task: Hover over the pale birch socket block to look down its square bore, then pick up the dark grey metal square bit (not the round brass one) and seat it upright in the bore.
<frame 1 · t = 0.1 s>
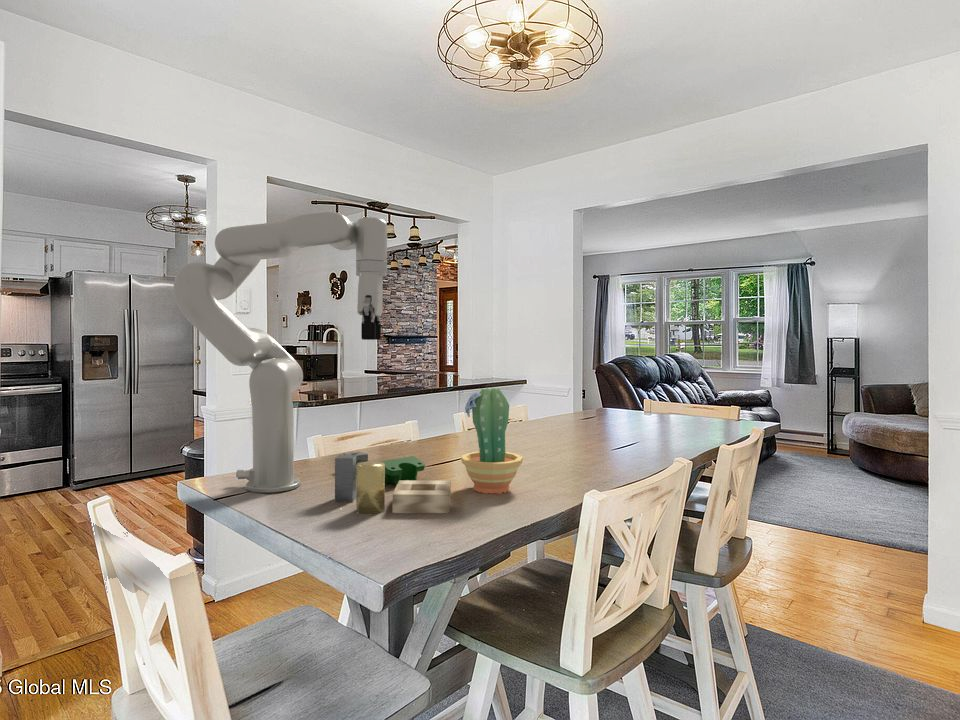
hand: (371, 339, 142), 37 cm above the table, tool pointing down, fingers open, 9 cm apart
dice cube: (355, 472, 160), on the table
round bit: (370, 510, 124), on the table
potted cactus: (491, 489, 143), on the table
socket block: (422, 504, 128), on the table
clamp: (401, 483, 148), on the table
square bit: (345, 499, 132), on the table
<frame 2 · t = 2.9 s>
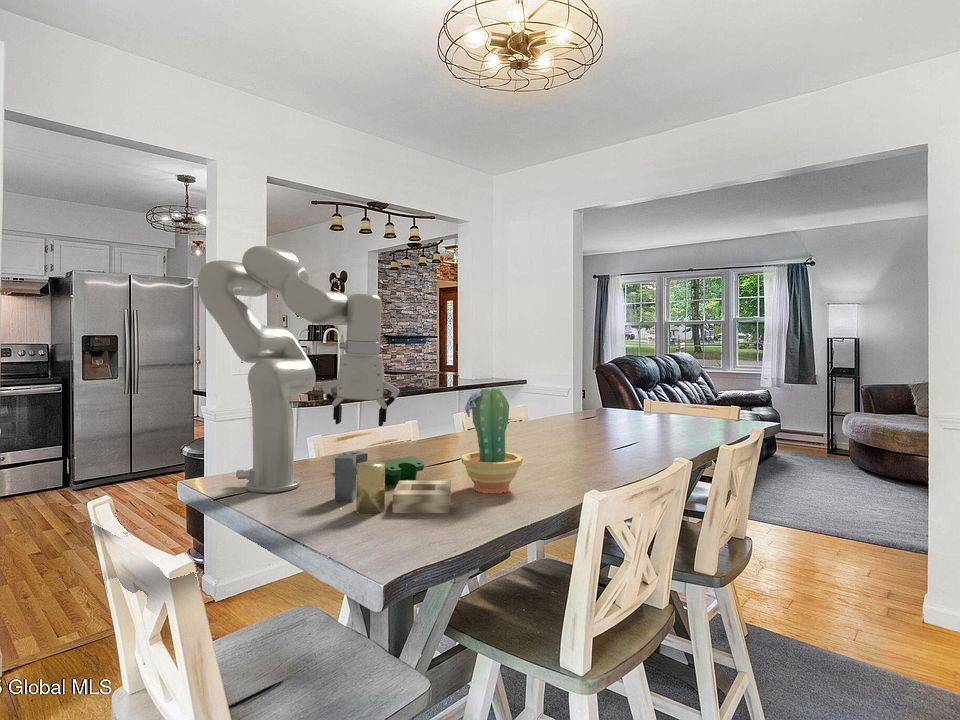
hand: (359, 424, 131), 17 cm above the table, tool pointing down, fingers open, 9 cm apart
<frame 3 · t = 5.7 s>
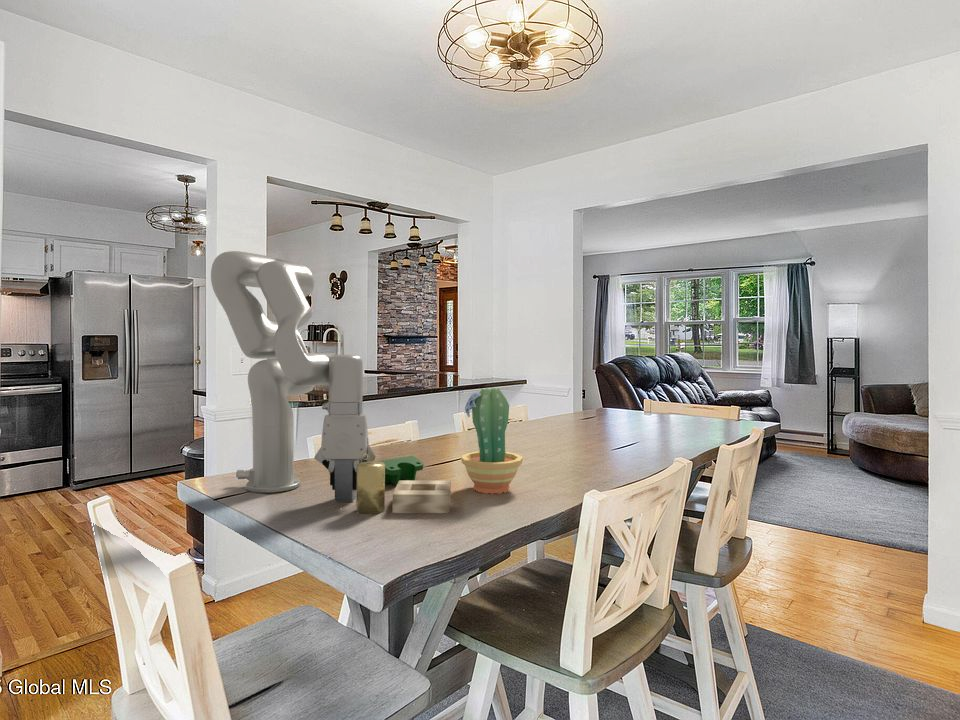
hand: (345, 487, 132), 3 cm above the table, tool pointing down, fingers closed on square bit, 4 cm apart
square bit: (345, 499, 132), on the table, touching gripper
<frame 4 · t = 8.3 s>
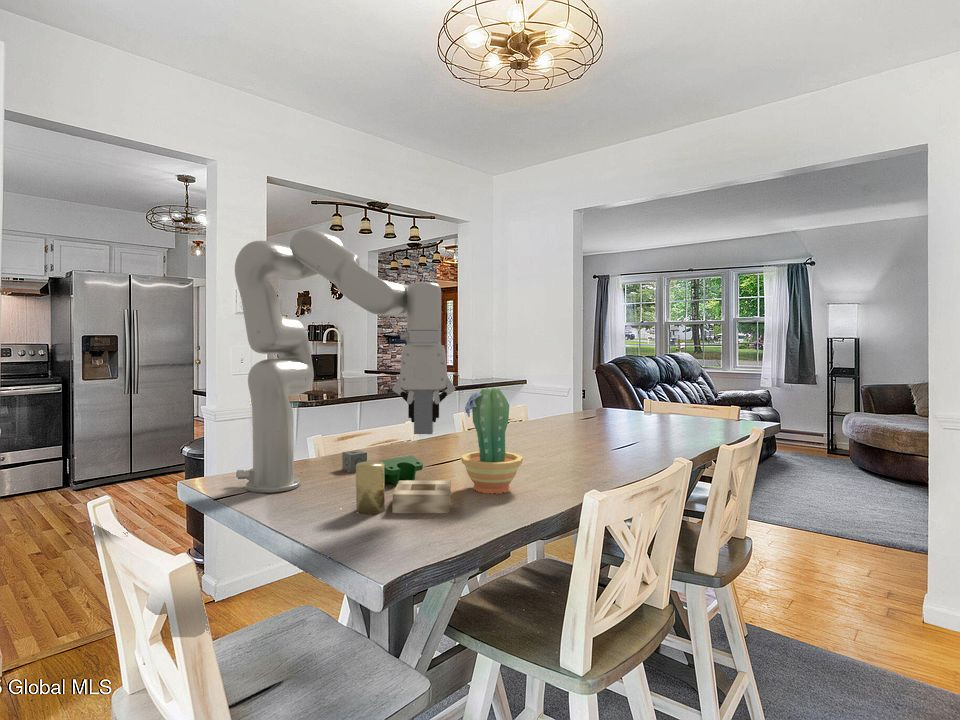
hand: (423, 420, 128), 19 cm above the table, tool pointing down, fingers closed on square bit, 4 cm apart
square bit: (423, 432, 128), point 16 cm above the table, touching gripper
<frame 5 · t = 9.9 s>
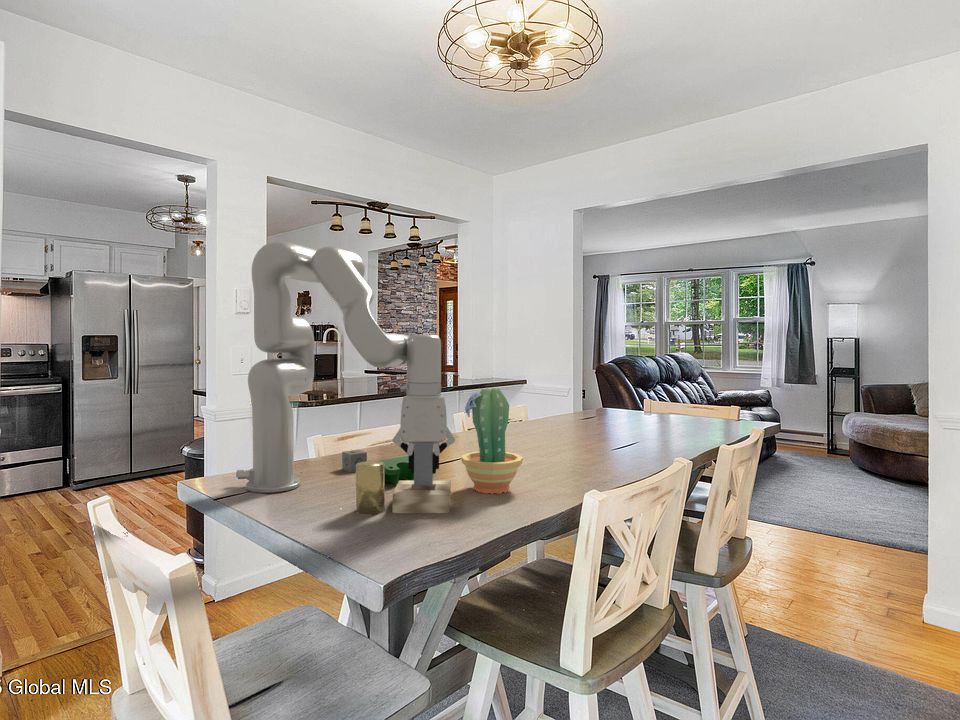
hand: (423, 471, 128), 8 cm above the table, tool pointing down, fingers closed on square bit, 4 cm apart
square bit: (423, 483, 128), point 5 cm above the table, touching gripper
when the fingers open (4 cm above the table, at t = 11.2 s): square bit drops 2 cm, resting in socket block.
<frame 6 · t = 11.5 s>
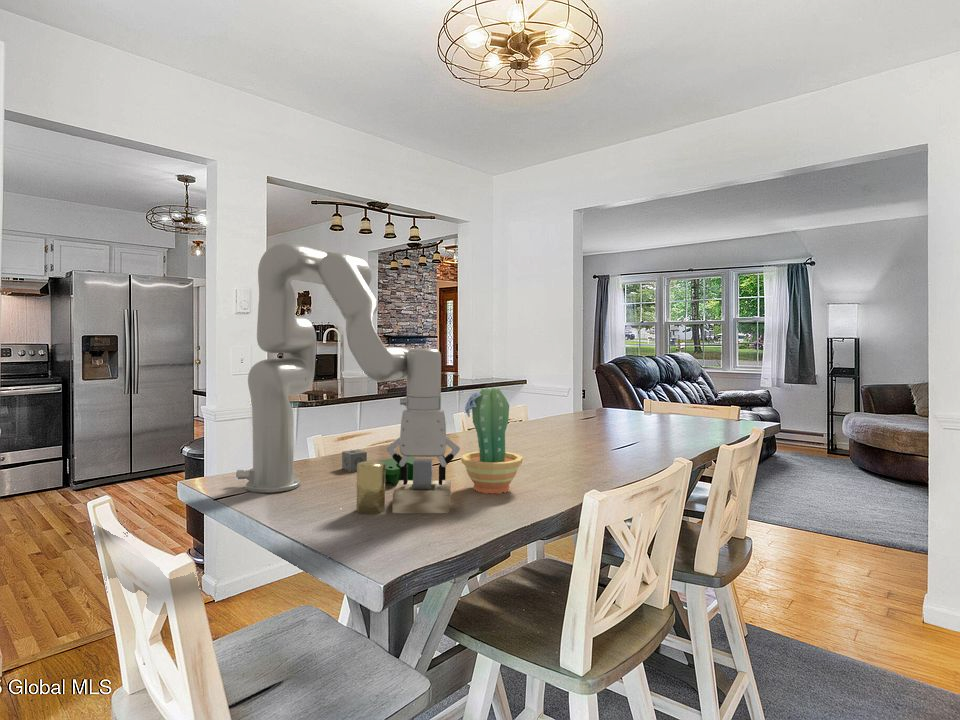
hand: (423, 482, 128), 5 cm above the table, tool pointing down, fingers open, 7 cm apart
square bit: (422, 505, 128), resting in socket block
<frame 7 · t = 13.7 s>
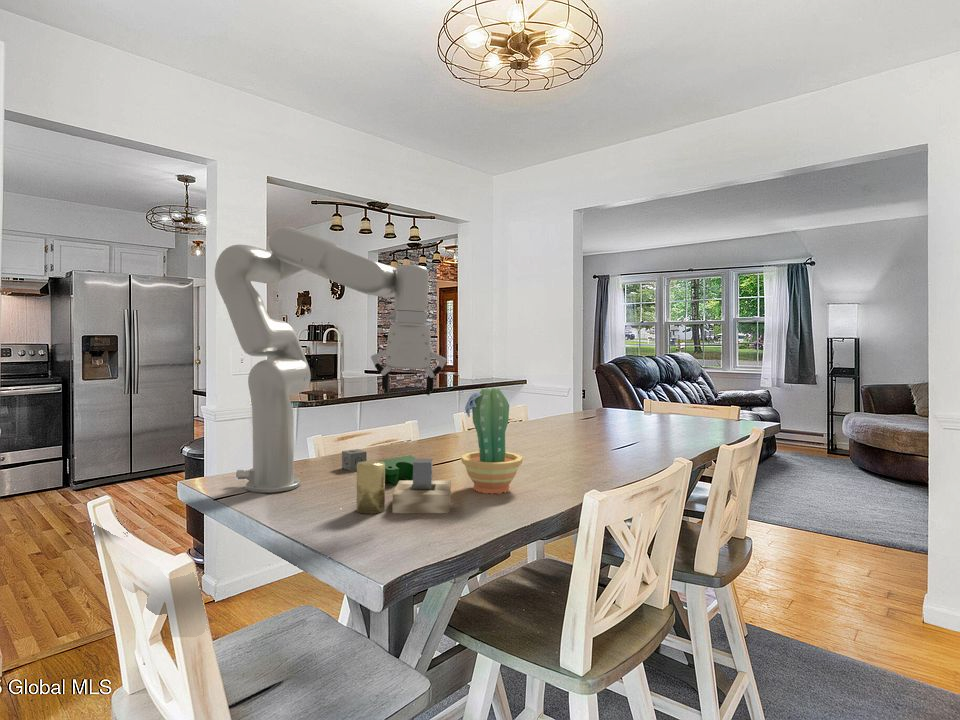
hand: (407, 393, 133), 24 cm above the table, tool pointing down, fingers open, 9 cm apart
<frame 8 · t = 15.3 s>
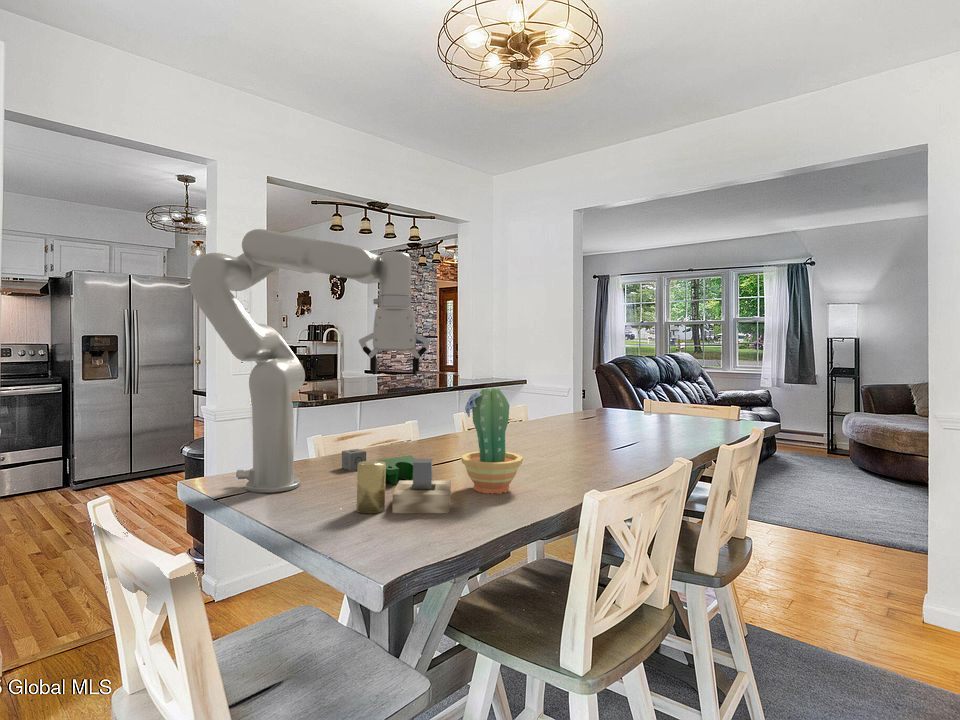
hand: (394, 374, 140), 28 cm above the table, tool pointing down, fingers open, 9 cm apart
at the end: square bit 0.1 cm off-centre on the socket block, point 0.0 cm above the socket block's base; square bit tilted 0°; the gripper is holding nothing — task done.
